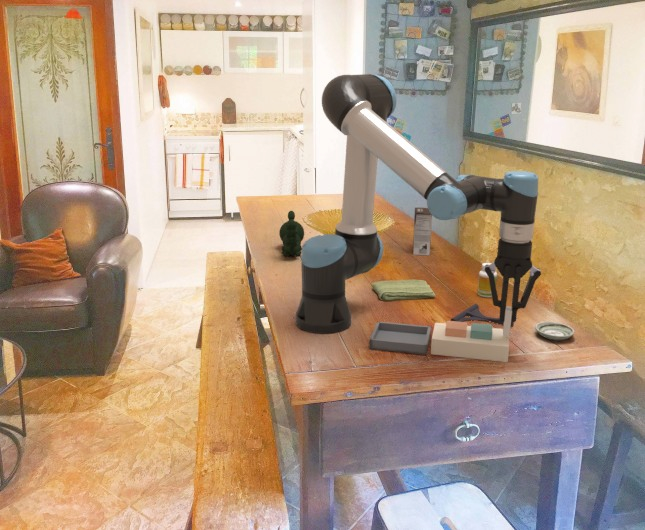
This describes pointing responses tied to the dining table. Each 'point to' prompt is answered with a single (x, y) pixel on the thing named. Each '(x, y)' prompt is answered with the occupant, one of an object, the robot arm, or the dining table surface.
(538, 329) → the saucer
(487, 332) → the green glazed tile
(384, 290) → the washcloth
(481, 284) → the supplement bottle
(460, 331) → the terracotta tile
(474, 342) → the cream board
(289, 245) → the toy figurine
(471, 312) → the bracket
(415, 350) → the tray
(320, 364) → the dining table surface
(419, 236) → the coffee box
